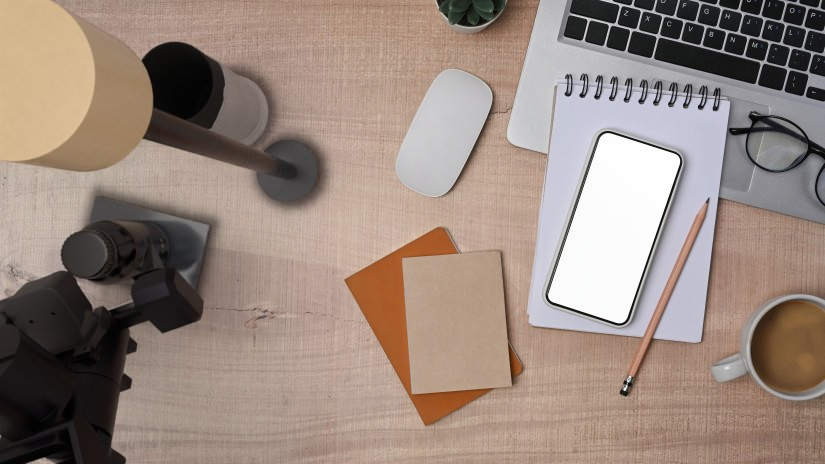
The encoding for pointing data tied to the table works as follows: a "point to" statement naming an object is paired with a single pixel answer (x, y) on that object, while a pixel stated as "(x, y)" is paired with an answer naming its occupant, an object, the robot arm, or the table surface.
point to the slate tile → (180, 232)
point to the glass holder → (205, 92)
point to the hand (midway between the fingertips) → (111, 262)
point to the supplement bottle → (112, 250)
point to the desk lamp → (107, 105)
